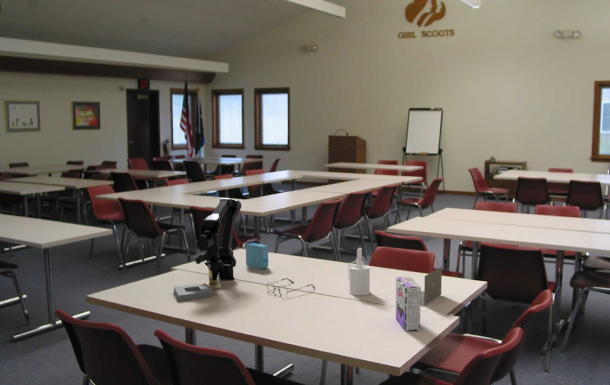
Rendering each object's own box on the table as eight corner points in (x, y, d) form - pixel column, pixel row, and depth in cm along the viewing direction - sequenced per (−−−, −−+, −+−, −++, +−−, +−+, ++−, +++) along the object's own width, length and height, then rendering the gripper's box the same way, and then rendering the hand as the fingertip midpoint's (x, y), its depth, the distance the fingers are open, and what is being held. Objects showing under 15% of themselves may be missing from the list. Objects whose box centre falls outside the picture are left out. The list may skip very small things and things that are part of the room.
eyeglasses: (262, 291, 253) (262, 280, 252) (291, 283, 266) (291, 272, 266) (288, 299, 242) (288, 287, 241) (317, 289, 255) (317, 278, 255)
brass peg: (216, 282, 262) (216, 265, 261) (218, 284, 258) (218, 267, 257) (208, 283, 260) (207, 266, 259) (209, 285, 257) (209, 268, 256)
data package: (268, 268, 293) (268, 245, 291) (262, 269, 289) (262, 246, 288) (251, 264, 300) (251, 242, 299) (245, 266, 297) (245, 243, 295)
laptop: (414, 291, 251) (414, 262, 249) (441, 296, 243) (442, 266, 242) (396, 302, 236) (397, 271, 234) (425, 307, 229) (425, 276, 227)
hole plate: (205, 288, 257) (205, 282, 257) (211, 297, 244) (211, 291, 244) (174, 292, 252) (173, 286, 252) (179, 301, 239) (178, 294, 239)
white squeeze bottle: (374, 292, 249) (374, 247, 246) (361, 297, 242) (361, 251, 239) (355, 287, 256) (355, 244, 253) (342, 292, 249) (342, 247, 247)
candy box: (395, 318, 215) (395, 276, 213) (410, 317, 215) (410, 275, 213) (404, 331, 201) (404, 286, 199) (420, 331, 202) (421, 286, 200)
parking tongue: (218, 284, 263) (218, 281, 263) (221, 287, 258) (221, 284, 257) (205, 286, 261) (205, 282, 261) (208, 289, 255) (208, 286, 255)
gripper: (190, 243, 263) (191, 276, 265) (198, 251, 245) (199, 286, 247) (214, 241, 267) (215, 273, 269) (223, 249, 249) (224, 284, 251)
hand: (213, 279), depth 259 cm, fingers closed on brass peg, 4 cm apart
